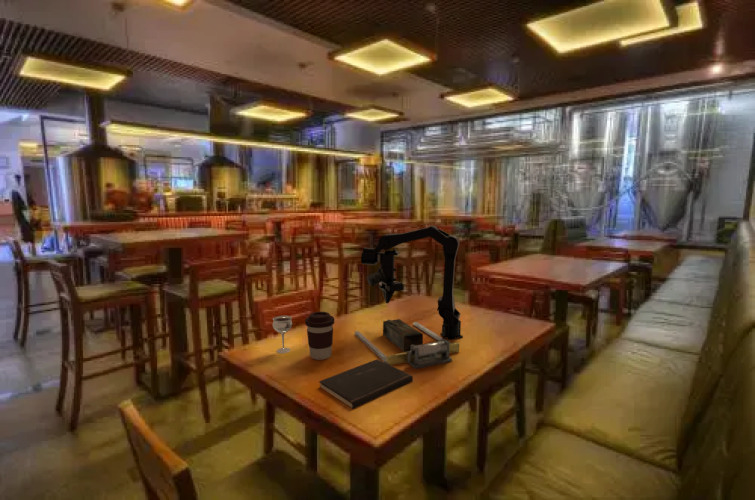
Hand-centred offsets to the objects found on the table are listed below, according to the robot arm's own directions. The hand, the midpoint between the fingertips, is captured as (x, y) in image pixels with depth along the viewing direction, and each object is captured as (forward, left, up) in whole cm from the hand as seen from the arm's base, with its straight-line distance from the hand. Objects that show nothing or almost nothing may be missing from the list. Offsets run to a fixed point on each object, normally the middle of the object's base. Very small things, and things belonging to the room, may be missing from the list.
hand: (387, 303), depth 161 cm
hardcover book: (+25, +39, -12) cm, 48 cm away
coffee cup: (+32, +14, -12) cm, 37 cm away
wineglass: (+43, +4, -12) cm, 45 cm away
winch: (0, +34, -11) cm, 36 cm away
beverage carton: (0, +14, -12) cm, 18 cm away
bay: (0, +15, -11) cm, 19 cm away
